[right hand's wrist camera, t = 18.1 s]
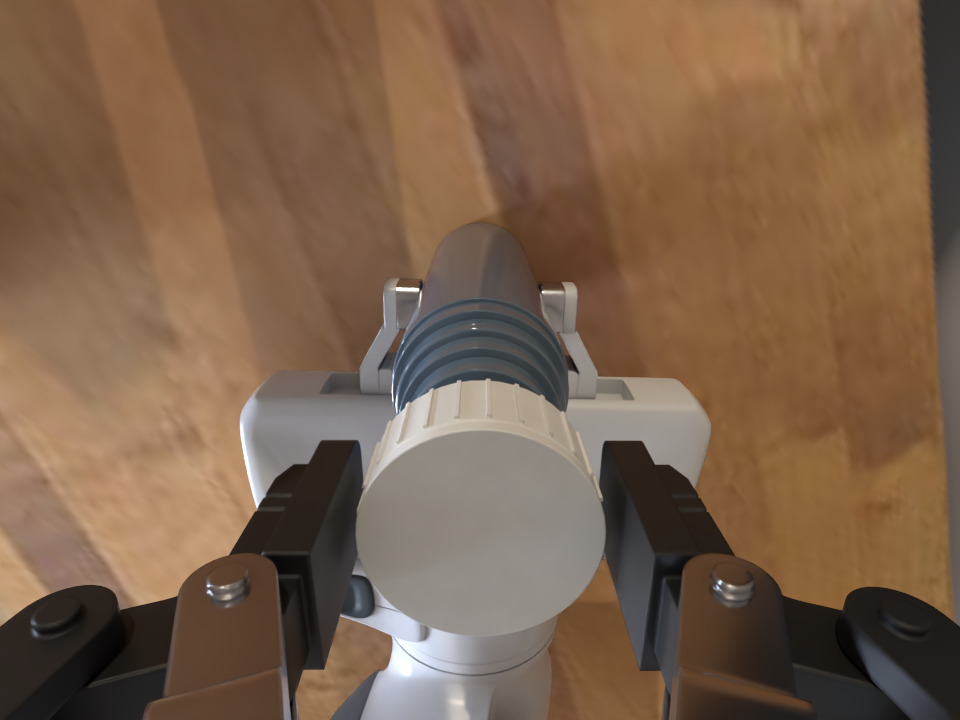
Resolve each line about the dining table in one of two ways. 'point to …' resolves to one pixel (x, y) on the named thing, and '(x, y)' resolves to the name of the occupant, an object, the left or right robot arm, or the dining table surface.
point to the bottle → (480, 322)
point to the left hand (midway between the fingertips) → (479, 282)
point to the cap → (480, 511)
